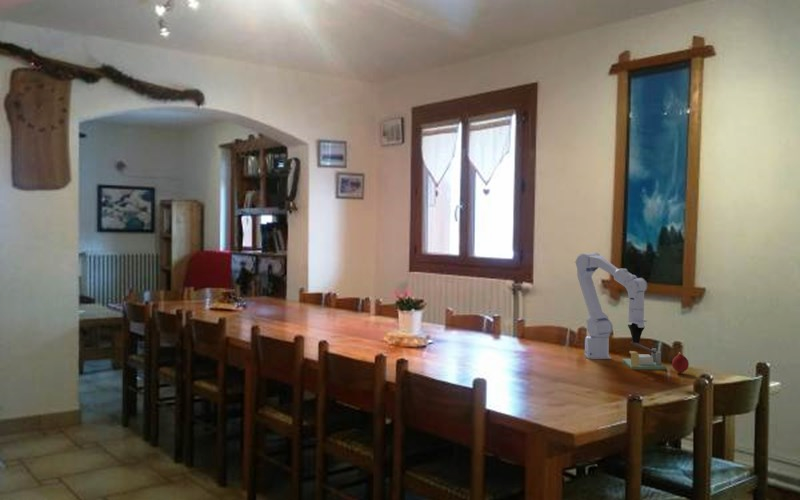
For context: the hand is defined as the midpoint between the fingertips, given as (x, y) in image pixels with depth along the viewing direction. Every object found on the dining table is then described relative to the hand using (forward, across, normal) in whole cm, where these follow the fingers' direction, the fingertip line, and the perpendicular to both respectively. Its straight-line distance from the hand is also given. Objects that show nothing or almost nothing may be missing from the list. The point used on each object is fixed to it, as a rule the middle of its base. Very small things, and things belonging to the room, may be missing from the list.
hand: (635, 342), depth 268 cm
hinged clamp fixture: (+9, 0, -3) cm, 10 cm away
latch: (+8, -5, +2) cm, 10 cm away
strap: (+3, 0, -3) cm, 4 cm away
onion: (+9, -13, -13) cm, 21 cm away
